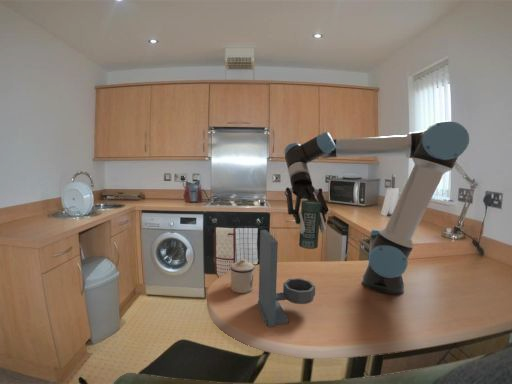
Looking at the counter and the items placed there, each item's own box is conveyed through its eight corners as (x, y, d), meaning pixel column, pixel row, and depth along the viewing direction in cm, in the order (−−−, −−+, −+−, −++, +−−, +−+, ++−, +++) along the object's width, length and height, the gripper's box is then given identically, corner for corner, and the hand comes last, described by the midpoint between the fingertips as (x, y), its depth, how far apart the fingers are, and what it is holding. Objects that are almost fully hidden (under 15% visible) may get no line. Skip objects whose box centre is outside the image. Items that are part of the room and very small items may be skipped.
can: (317, 244, 92) (320, 201, 90) (317, 249, 86) (320, 204, 84) (300, 242, 93) (302, 200, 91) (298, 247, 88) (301, 202, 86)
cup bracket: (303, 298, 96) (306, 228, 93) (320, 321, 82) (325, 240, 80) (257, 302, 92) (258, 230, 90) (266, 327, 79) (269, 242, 76)
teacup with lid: (255, 293, 99) (256, 263, 98) (231, 294, 98) (232, 264, 96) (250, 279, 111) (250, 252, 110) (228, 280, 109) (228, 253, 108)
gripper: (320, 184, 104) (337, 237, 90) (272, 183, 100) (281, 237, 87) (327, 171, 98) (346, 225, 84) (276, 169, 95) (287, 226, 81)
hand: (313, 231), depth 85 cm, fingers closed on can, 6 cm apart
